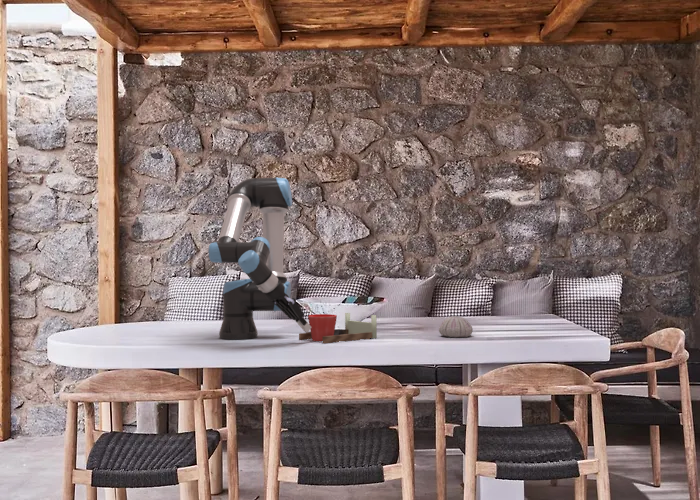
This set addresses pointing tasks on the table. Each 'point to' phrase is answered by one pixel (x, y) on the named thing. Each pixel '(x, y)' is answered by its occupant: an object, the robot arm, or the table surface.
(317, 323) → the flower pot
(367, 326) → the sage end wall
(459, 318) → the sea urchin shell
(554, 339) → the table surface
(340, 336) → the walnut trap lane
